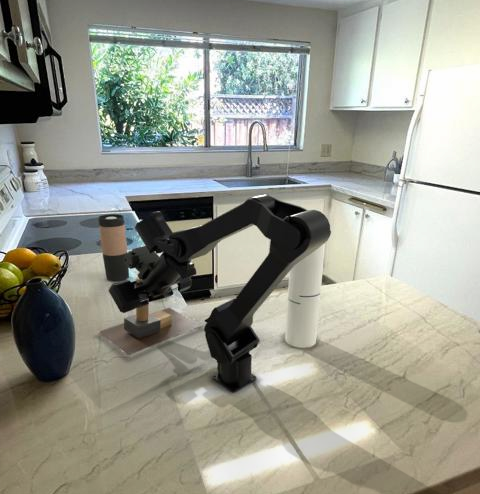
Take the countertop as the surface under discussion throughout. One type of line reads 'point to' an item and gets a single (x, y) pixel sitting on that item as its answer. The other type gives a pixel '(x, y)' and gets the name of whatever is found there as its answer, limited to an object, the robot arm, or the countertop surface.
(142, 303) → the robot arm
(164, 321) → the tan wooden block
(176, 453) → the countertop surface
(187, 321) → the cutting board
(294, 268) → the cylindrical container
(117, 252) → the travel mug
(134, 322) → the stamp
